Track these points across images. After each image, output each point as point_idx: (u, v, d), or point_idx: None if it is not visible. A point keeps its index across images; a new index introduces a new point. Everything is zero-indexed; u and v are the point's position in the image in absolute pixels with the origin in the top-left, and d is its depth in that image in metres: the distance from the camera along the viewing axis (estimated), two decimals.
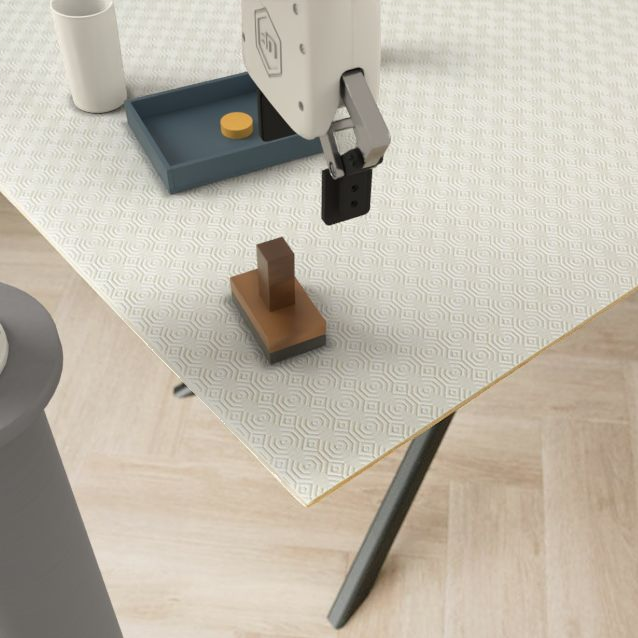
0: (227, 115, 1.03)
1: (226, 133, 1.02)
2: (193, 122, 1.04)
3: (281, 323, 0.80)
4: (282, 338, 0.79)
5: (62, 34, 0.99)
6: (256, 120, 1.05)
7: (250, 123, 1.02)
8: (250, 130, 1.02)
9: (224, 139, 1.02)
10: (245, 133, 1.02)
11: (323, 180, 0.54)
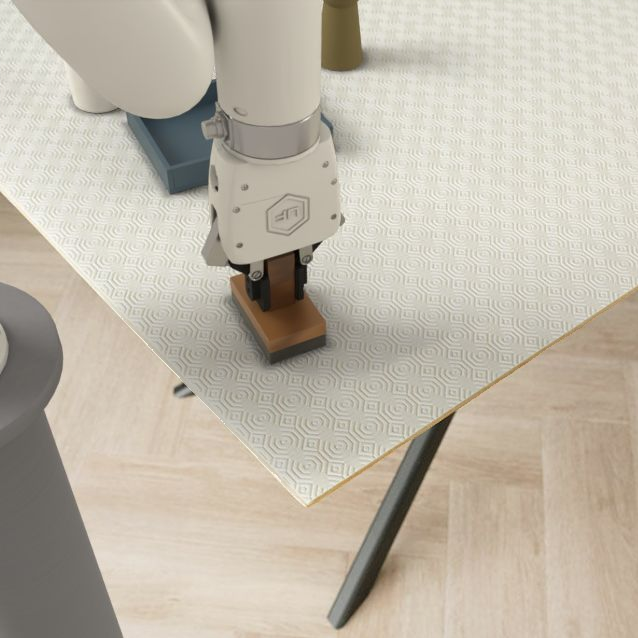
0: None
1: None
2: (193, 122, 1.04)
3: (281, 323, 0.80)
4: (282, 338, 0.79)
5: None
6: None
7: None
8: None
9: None
10: None
11: (301, 273, 0.79)
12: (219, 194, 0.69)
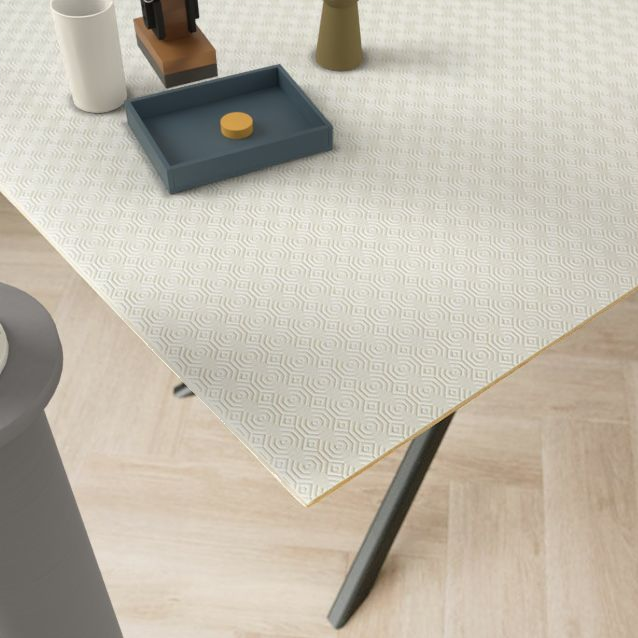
0: (227, 115, 1.03)
1: (226, 133, 1.02)
2: (193, 122, 1.04)
3: (175, 49, 0.89)
4: (174, 60, 0.88)
5: (62, 34, 0.99)
6: (256, 120, 1.05)
7: (250, 123, 1.02)
8: (250, 130, 1.02)
9: (224, 139, 1.02)
10: (245, 133, 1.02)
11: (191, 1, 0.88)
12: None
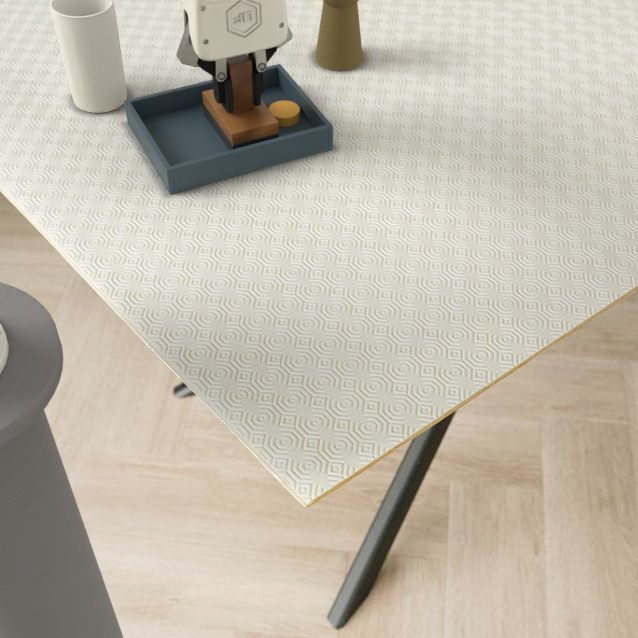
0: (275, 103, 1.05)
1: None
2: (193, 122, 1.04)
3: (242, 122, 0.99)
4: (242, 132, 0.98)
5: (62, 34, 0.99)
6: None
7: (298, 111, 1.04)
8: (298, 118, 1.04)
9: None
10: (293, 121, 1.04)
11: (257, 79, 0.98)
12: None
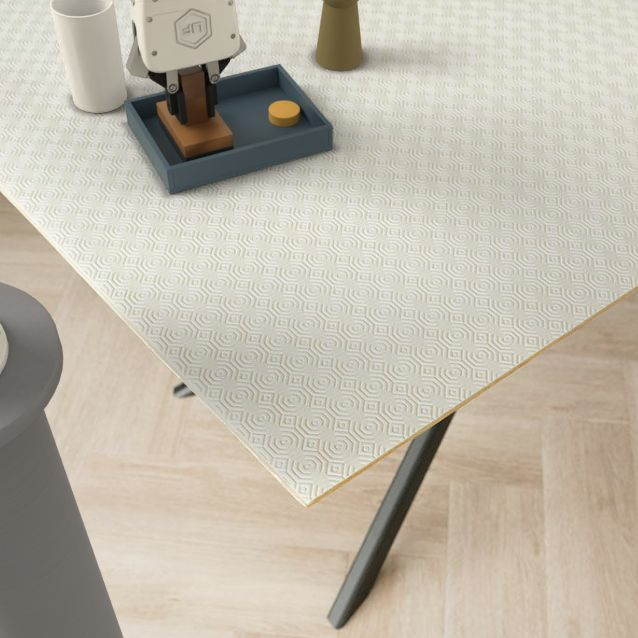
0: (275, 103, 1.05)
1: (274, 121, 1.04)
2: None
3: (195, 134, 0.97)
4: (195, 144, 0.96)
5: (62, 34, 0.99)
6: (256, 120, 1.05)
7: (298, 111, 1.04)
8: (298, 118, 1.04)
9: None
10: (293, 121, 1.04)
11: (210, 90, 0.96)
12: (135, 7, 0.86)
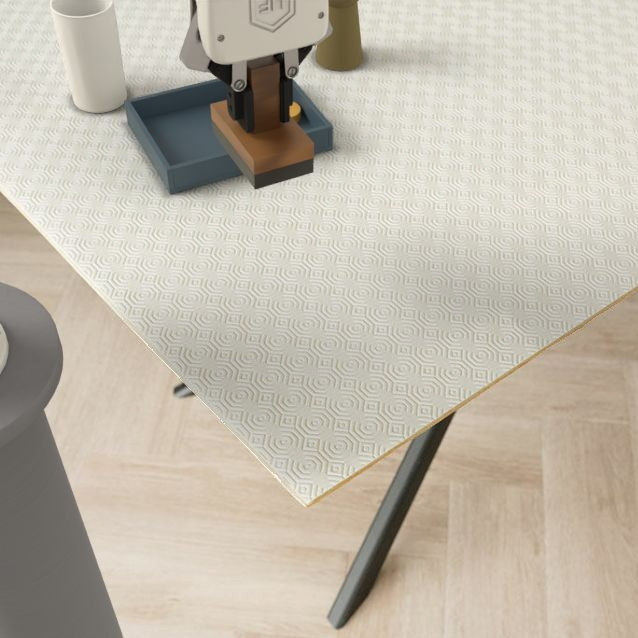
0: None
1: None
2: (193, 122, 1.04)
3: (266, 144, 0.75)
4: (267, 157, 0.74)
5: (62, 34, 0.99)
6: None
7: (298, 111, 1.04)
8: (299, 118, 1.04)
9: None
10: None
11: (286, 88, 0.74)
12: None
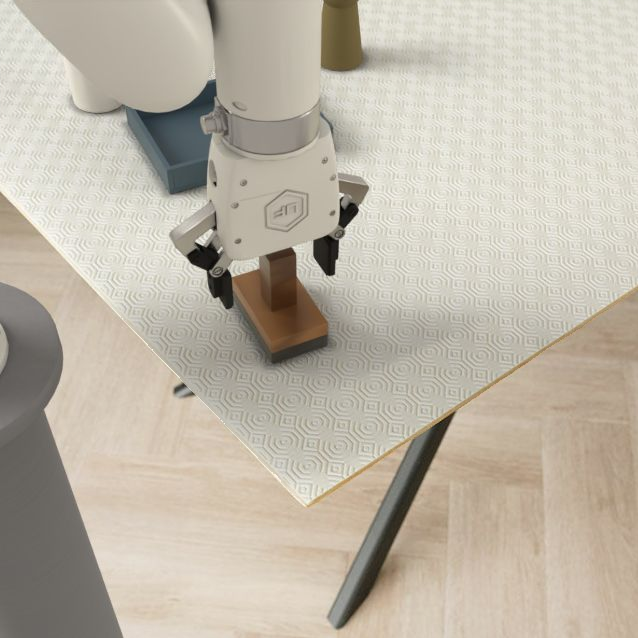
0: None
1: None
2: (193, 122, 1.04)
3: (283, 323, 0.80)
4: (284, 338, 0.79)
5: None
6: None
7: None
8: None
9: None
10: None
11: (333, 248, 0.78)
12: (218, 189, 0.69)
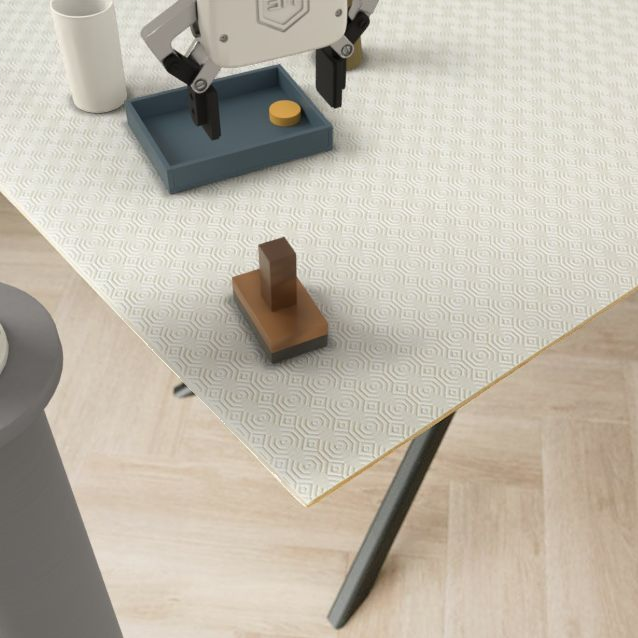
0: (275, 103, 1.05)
1: (275, 121, 1.04)
2: (193, 122, 1.04)
3: (283, 323, 0.80)
4: (284, 338, 0.79)
5: (62, 34, 0.99)
6: (256, 120, 1.05)
7: (298, 111, 1.04)
8: (299, 118, 1.04)
9: (224, 139, 1.02)
10: (294, 121, 1.04)
11: (339, 68, 0.66)
12: None
